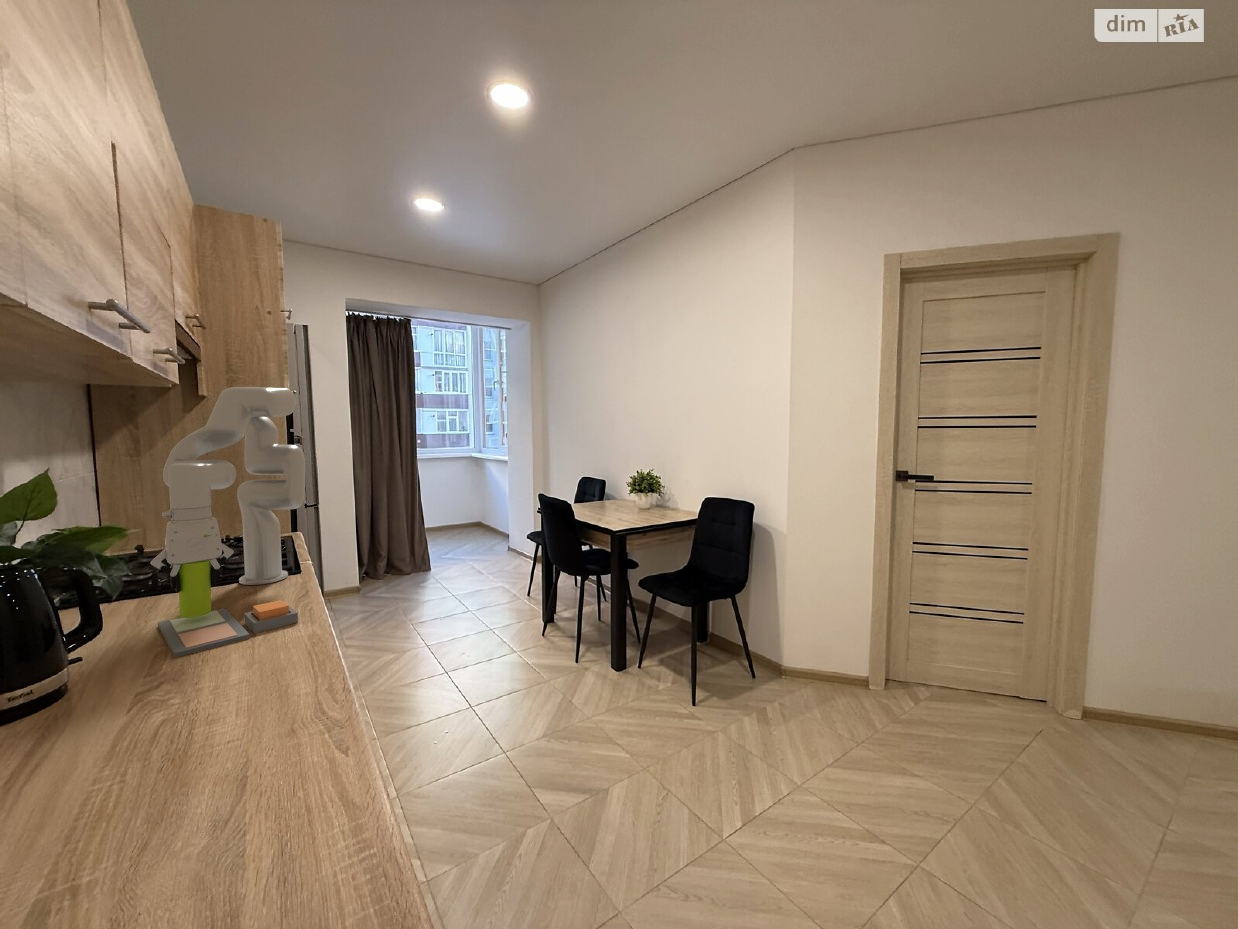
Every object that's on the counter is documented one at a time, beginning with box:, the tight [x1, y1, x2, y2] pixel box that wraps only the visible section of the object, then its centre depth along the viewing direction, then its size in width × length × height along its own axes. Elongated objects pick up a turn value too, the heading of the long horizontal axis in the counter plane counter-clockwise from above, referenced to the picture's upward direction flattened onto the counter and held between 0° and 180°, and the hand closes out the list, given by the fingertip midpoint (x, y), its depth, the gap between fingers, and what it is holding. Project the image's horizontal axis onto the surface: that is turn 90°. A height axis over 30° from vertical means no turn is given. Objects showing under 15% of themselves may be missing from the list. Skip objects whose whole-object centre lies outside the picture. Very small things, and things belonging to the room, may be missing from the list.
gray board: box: [157, 608, 251, 658], centre depth 119 cm, size 24×13×1 cm, turn 48°
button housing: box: [243, 604, 299, 634], centre depth 125 cm, size 9×9×2 cm
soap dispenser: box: [178, 535, 212, 618], centre depth 122 cm, size 6×7×20 cm
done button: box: [252, 599, 290, 620], centre depth 125 cm, size 6×6×2 cm
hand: (195, 587), depth 122 cm, fingers closed on soap dispenser, 6 cm apart
